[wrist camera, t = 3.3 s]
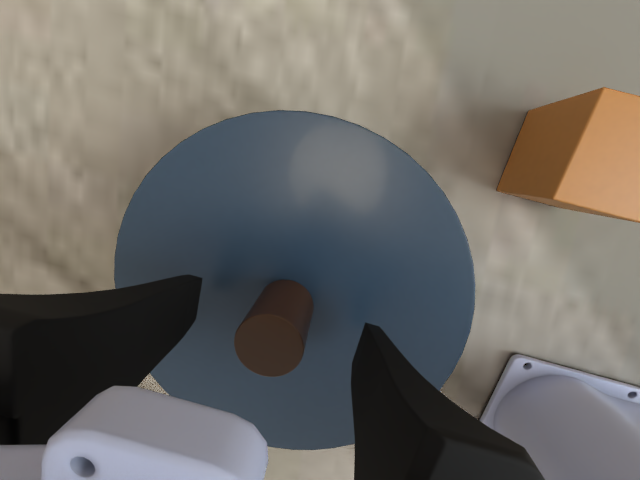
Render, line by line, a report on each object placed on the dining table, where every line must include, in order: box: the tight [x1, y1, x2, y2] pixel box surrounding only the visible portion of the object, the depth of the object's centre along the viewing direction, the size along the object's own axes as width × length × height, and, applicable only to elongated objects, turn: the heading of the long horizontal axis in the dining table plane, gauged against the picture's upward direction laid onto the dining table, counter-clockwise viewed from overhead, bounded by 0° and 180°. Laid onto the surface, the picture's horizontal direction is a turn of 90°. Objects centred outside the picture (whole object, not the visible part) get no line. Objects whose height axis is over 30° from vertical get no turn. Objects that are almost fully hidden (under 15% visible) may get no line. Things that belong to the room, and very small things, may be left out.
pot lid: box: [114, 110, 475, 450], centre depth 13 cm, size 17×17×4 cm
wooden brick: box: [497, 87, 640, 223], centre depth 15 cm, size 4×5×5 cm
